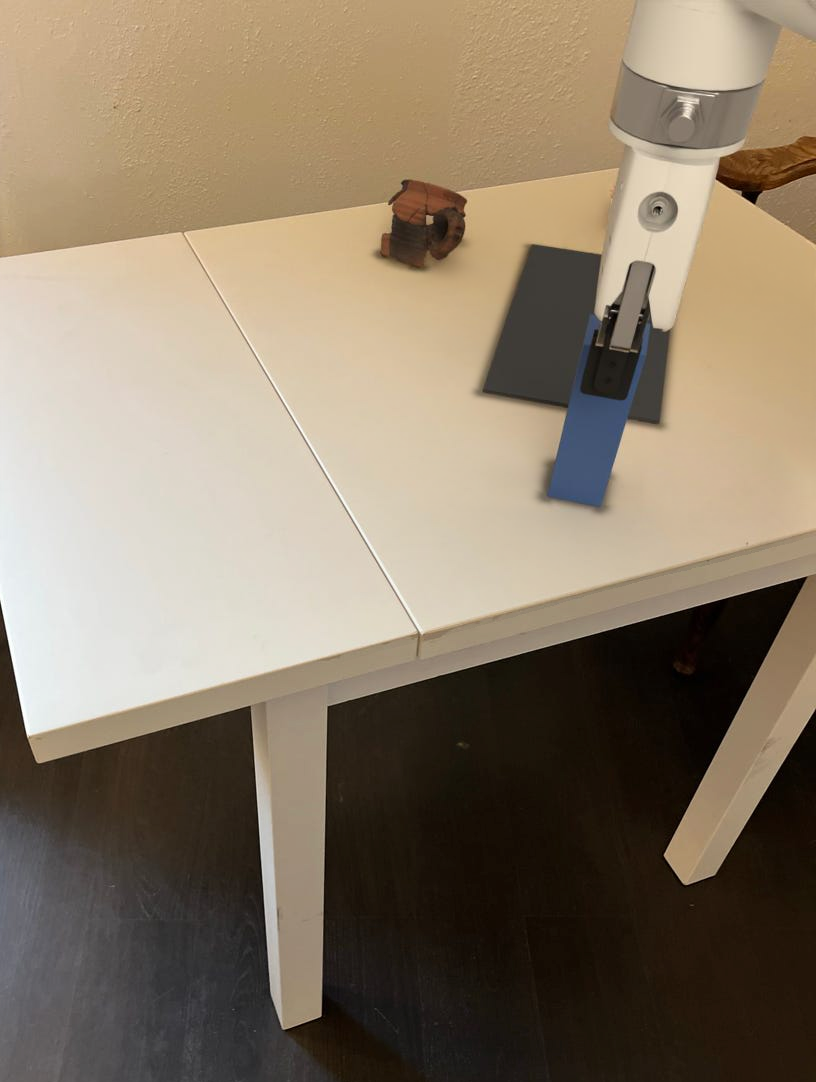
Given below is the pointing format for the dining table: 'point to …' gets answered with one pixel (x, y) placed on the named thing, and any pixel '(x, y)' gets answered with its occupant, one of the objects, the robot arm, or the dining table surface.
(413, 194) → the brown broken pot
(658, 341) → the rubber mat
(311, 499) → the dining table surface
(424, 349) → the dining table surface
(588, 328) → the blue post
